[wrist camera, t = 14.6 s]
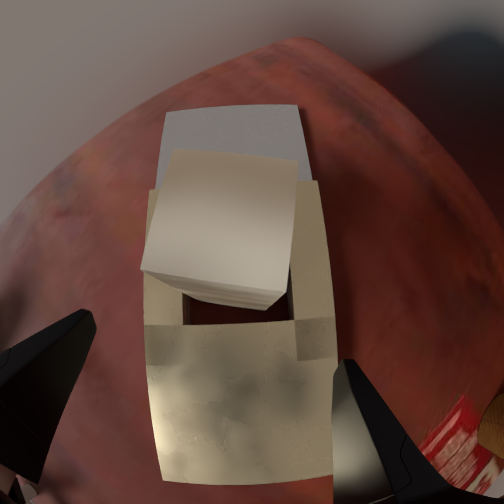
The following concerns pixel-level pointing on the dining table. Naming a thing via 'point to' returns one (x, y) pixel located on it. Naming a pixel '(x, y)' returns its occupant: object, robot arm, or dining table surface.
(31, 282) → the dining table surface
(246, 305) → the maple pin
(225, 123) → the plate with square hole
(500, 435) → the disposable coffee cup
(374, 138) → the dining table surface
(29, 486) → the pipe connector
